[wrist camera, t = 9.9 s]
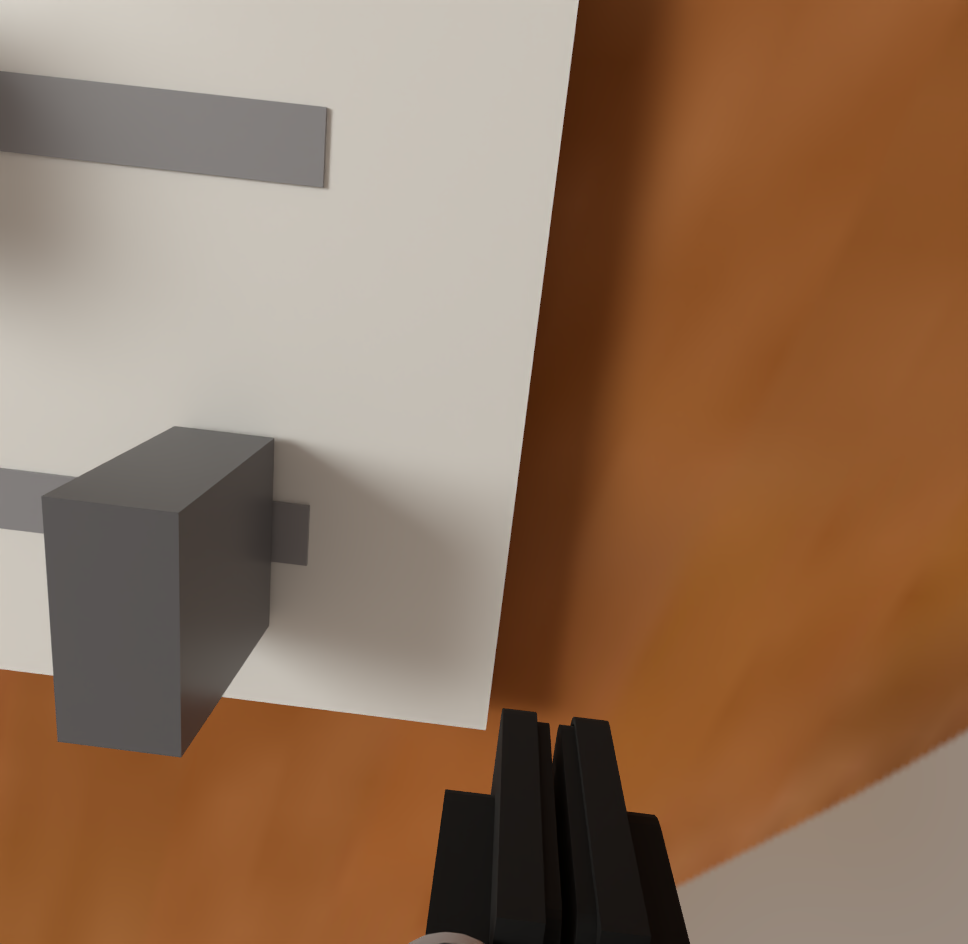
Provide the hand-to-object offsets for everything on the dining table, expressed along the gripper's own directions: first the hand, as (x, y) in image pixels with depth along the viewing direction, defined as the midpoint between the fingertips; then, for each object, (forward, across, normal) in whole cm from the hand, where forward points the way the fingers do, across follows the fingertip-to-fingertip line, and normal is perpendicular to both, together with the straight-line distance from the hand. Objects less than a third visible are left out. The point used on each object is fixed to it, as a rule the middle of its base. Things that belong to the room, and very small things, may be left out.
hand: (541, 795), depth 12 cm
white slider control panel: (+10, +13, -5) cm, 17 cm away
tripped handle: (+7, +8, -1) cm, 11 cm away
